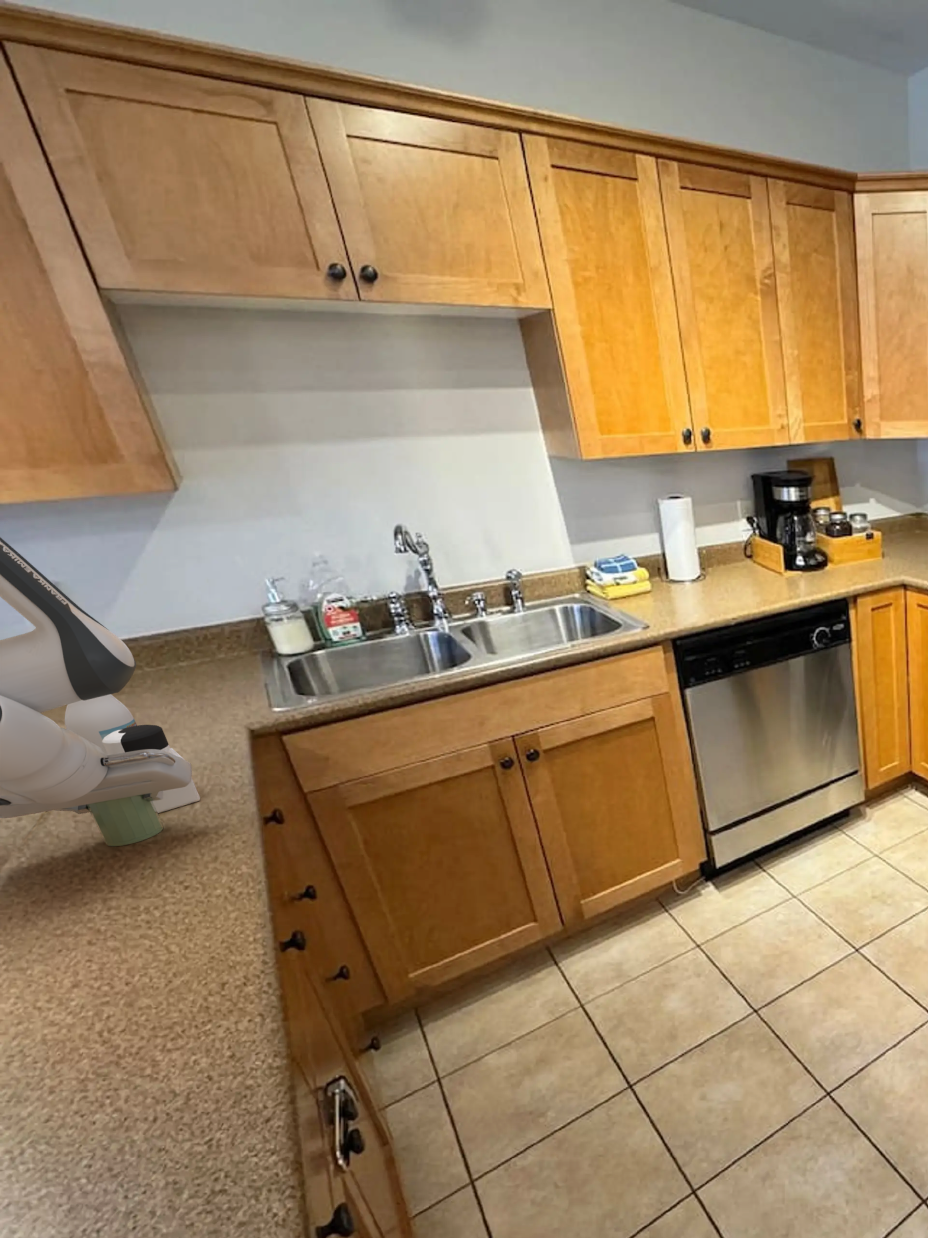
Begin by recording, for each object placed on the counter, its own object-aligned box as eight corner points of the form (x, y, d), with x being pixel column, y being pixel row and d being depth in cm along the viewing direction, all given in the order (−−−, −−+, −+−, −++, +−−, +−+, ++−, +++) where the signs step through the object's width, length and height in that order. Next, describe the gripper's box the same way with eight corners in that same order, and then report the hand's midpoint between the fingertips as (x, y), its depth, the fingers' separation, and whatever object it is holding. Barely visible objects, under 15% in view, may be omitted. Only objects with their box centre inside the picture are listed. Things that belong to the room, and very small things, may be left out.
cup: (102, 851, 104) (71, 788, 101) (110, 834, 109) (81, 773, 105) (160, 836, 108) (133, 775, 104) (166, 820, 112) (140, 762, 109)
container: (189, 788, 122) (159, 716, 118) (201, 800, 118) (170, 726, 113) (124, 807, 116) (89, 732, 112) (134, 821, 112) (99, 743, 108)
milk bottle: (101, 798, 120) (47, 683, 113) (89, 786, 124) (37, 675, 117) (165, 779, 126) (117, 669, 119) (152, 769, 130) (105, 662, 123)
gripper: (161, 730, 100) (214, 766, 112) (-53, 762, 92) (28, 798, 104) (160, 772, 98) (214, 804, 110) (-60, 809, 90) (24, 840, 102)
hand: (122, 801), depth 107 cm, fingers closed on cup, 6 cm apart
